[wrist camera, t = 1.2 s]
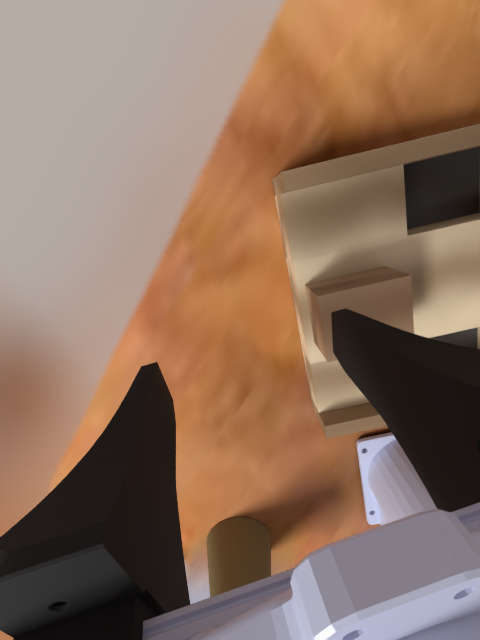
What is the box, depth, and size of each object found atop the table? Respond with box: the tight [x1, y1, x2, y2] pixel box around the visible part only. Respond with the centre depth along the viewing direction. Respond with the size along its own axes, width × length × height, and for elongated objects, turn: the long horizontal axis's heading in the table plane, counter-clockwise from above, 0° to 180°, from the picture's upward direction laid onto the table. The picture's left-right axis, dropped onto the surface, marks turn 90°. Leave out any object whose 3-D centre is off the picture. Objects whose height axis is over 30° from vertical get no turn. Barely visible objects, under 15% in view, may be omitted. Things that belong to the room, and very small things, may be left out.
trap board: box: [272, 124, 480, 438], centre depth 21 cm, size 17×20×4 cm
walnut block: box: [305, 266, 414, 362], centre depth 19 cm, size 4×5×3 cm
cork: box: [207, 517, 271, 597], centre depth 25 cm, size 6×6×11 cm
